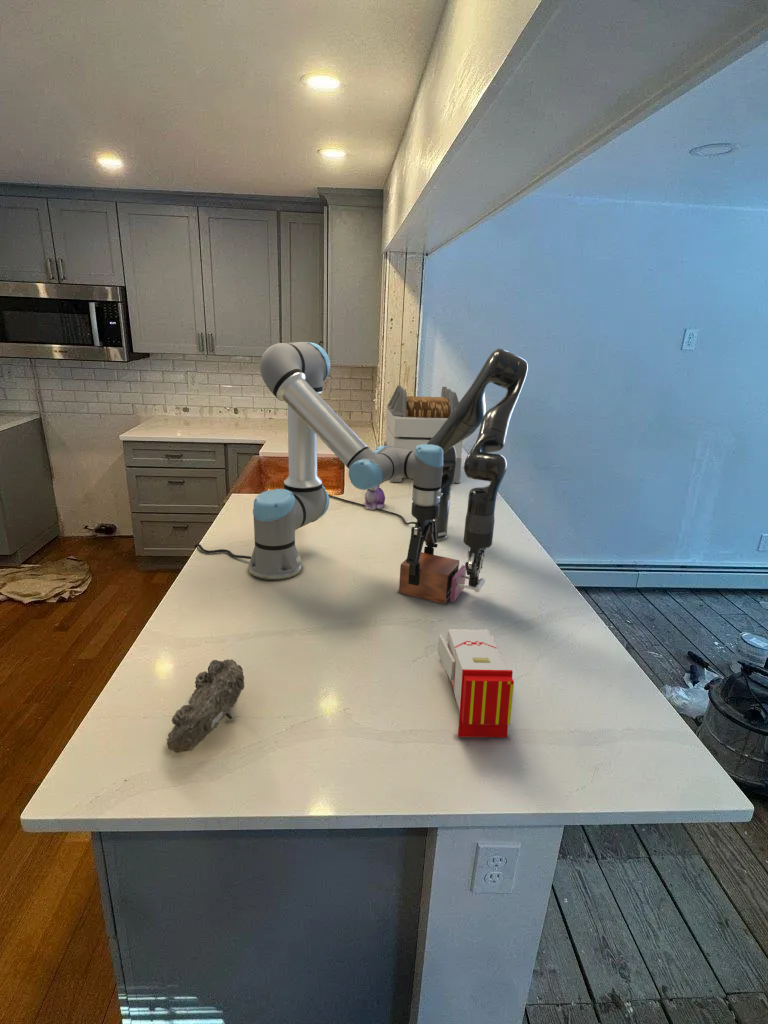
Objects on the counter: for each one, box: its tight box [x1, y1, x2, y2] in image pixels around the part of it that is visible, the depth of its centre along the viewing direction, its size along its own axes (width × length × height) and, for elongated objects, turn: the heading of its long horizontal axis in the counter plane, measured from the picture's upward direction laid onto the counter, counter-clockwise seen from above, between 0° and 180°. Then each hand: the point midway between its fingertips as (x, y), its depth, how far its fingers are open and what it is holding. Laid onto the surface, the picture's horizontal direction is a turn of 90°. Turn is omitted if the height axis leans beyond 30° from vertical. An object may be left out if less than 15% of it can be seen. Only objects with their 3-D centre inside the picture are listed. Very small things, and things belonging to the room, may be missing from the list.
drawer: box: [447, 564, 487, 603], centre depth 157 cm, size 18×10×7 cm, turn 66°
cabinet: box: [398, 551, 460, 605], centre depth 159 cm, size 14×11×9 cm
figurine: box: [363, 484, 386, 511], centre depth 223 cm, size 9×10×15 cm
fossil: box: [166, 658, 245, 754], centre depth 106 cm, size 22×10×15 cm
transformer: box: [383, 384, 464, 484], centre depth 268 cm, size 34×33×41 cm
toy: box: [437, 628, 515, 738], centre depth 117 cm, size 12×13×30 cm
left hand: (420, 575), depth 160 cm, fingers closed on cabinet, 11 cm apart
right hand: (473, 586), depth 155 cm, fingers closed
